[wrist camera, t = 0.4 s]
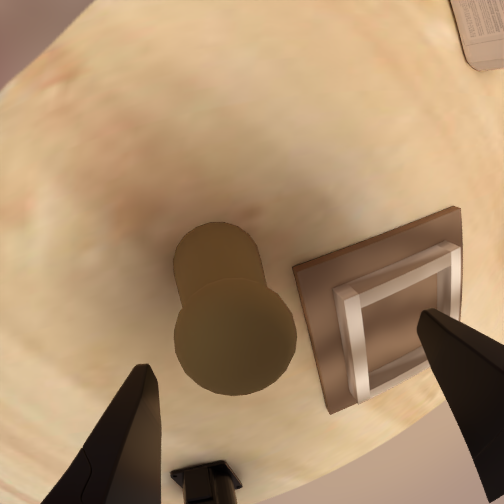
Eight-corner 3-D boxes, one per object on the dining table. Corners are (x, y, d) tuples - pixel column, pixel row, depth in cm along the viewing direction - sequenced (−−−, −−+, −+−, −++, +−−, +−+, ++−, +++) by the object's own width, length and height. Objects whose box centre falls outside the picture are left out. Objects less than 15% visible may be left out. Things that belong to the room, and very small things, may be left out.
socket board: (452, 343, 30) (468, 356, 27) (326, 408, 29) (337, 428, 26) (453, 206, 24) (476, 213, 22) (292, 267, 23) (306, 283, 20)
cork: (178, 216, 21) (167, 281, 10) (268, 228, 22) (335, 298, 12) (168, 299, 22) (159, 411, 12) (251, 308, 24) (295, 415, 13)
